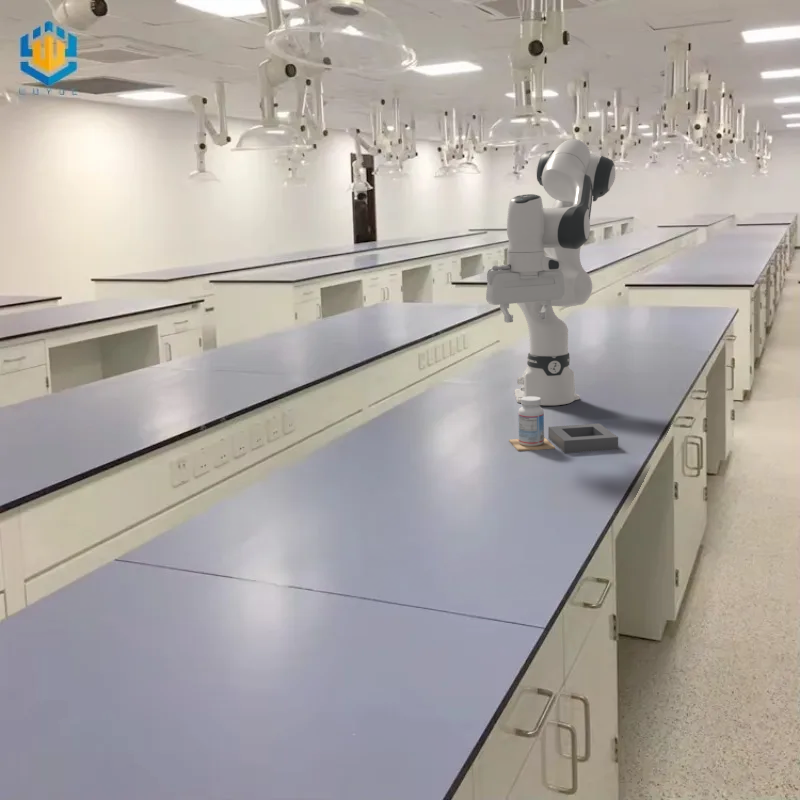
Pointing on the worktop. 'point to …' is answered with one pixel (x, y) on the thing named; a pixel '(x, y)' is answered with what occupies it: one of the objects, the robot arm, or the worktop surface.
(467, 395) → the worktop surface
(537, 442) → the pill bottle
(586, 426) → the grey square bottle holder
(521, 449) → the cork pad
